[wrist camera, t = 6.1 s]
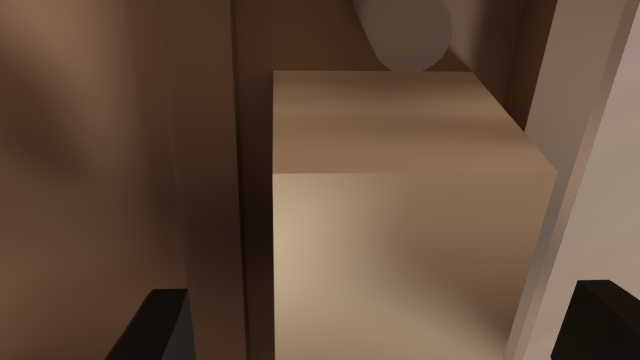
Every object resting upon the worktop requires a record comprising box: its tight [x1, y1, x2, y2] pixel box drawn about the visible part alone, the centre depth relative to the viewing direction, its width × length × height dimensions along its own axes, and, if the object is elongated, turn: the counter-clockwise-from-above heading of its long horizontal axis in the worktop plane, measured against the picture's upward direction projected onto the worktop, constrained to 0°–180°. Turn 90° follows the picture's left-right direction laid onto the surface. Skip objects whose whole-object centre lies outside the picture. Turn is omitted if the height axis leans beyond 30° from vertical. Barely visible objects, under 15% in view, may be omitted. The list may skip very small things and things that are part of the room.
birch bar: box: [273, 70, 558, 360], centre depth 11 cm, size 8×4×4 cm, turn 178°
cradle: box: [0, 0, 640, 360], centre depth 12 cm, size 12×20×4 cm, turn 88°
